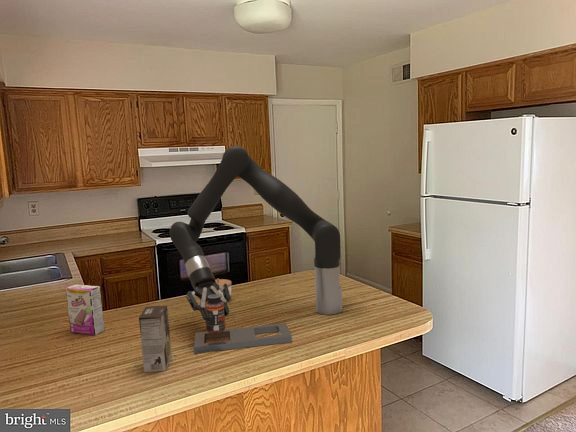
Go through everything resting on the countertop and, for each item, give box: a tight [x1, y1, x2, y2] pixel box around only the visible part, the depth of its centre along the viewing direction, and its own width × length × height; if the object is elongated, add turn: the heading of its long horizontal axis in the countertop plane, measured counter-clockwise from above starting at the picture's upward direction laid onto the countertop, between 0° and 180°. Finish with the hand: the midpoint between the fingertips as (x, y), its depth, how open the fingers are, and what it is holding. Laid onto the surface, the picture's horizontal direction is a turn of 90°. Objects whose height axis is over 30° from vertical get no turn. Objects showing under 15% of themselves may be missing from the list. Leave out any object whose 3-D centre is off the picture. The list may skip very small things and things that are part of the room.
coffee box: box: [138, 304, 173, 373], centre depth 125 cm, size 9×6×16 cm
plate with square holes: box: [193, 322, 293, 354], centre depth 140 cm, size 30×11×2 cm, turn 99°
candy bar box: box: [64, 283, 106, 336], centre depth 152 cm, size 11×5×16 cm, turn 71°
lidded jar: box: [215, 278, 232, 297], centre depth 179 cm, size 11×11×9 cm
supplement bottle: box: [205, 294, 226, 333], centre depth 137 cm, size 6×6×11 cm
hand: (217, 317), depth 136 cm, fingers closed on supplement bottle, 6 cm apart
